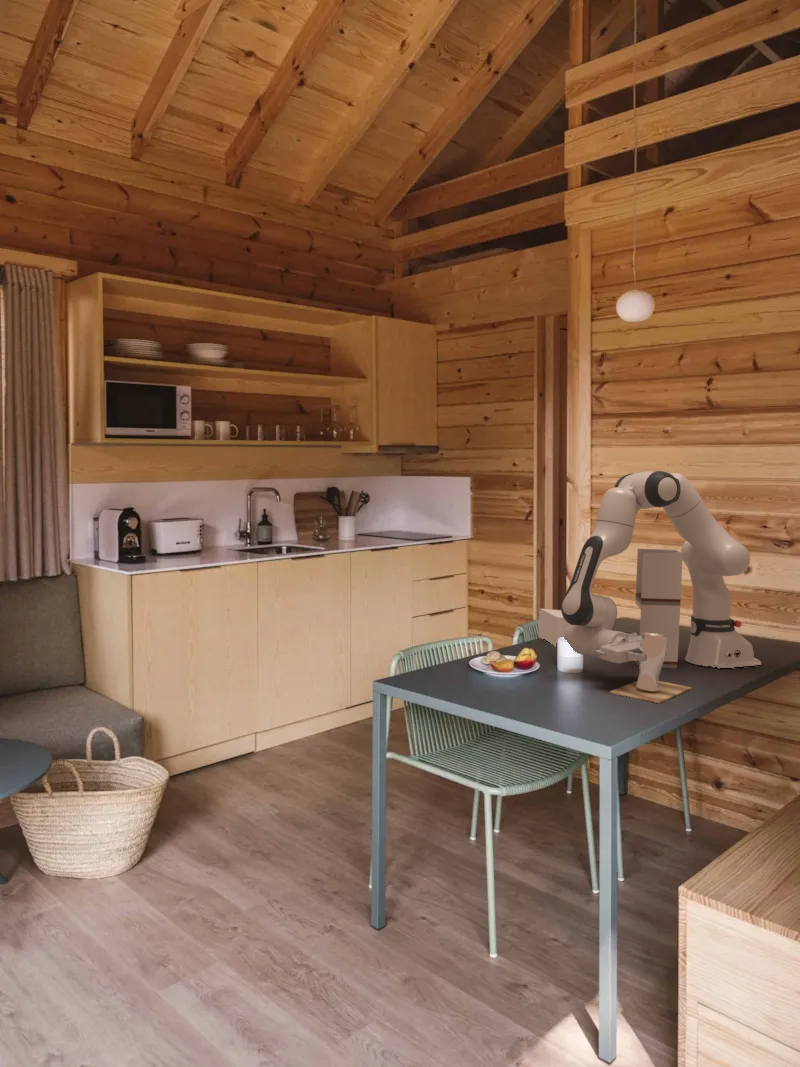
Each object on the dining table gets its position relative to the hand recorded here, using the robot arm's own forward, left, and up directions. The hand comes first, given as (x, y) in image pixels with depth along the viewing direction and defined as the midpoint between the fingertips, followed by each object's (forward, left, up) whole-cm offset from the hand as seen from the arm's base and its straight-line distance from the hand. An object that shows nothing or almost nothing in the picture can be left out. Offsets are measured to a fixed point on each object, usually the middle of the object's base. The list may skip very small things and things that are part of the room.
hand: (655, 656), depth 236 cm
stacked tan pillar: (-15, -31, -10) cm, 36 cm away
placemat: (0, -1, -10) cm, 10 cm away
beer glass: (+2, 0, -9) cm, 9 cm away
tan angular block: (+2, -59, -10) cm, 60 cm away
